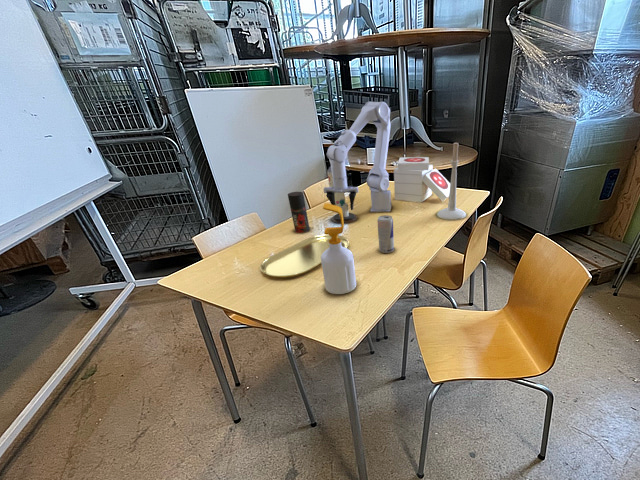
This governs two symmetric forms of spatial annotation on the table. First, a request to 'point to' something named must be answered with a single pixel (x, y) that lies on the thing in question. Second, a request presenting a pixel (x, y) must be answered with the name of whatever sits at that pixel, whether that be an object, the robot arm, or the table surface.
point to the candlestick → (452, 193)
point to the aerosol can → (337, 195)
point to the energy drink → (385, 234)
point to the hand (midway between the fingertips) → (343, 209)
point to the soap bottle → (337, 259)
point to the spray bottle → (344, 211)
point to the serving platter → (298, 257)
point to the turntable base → (345, 220)
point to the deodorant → (298, 212)
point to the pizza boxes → (418, 180)
